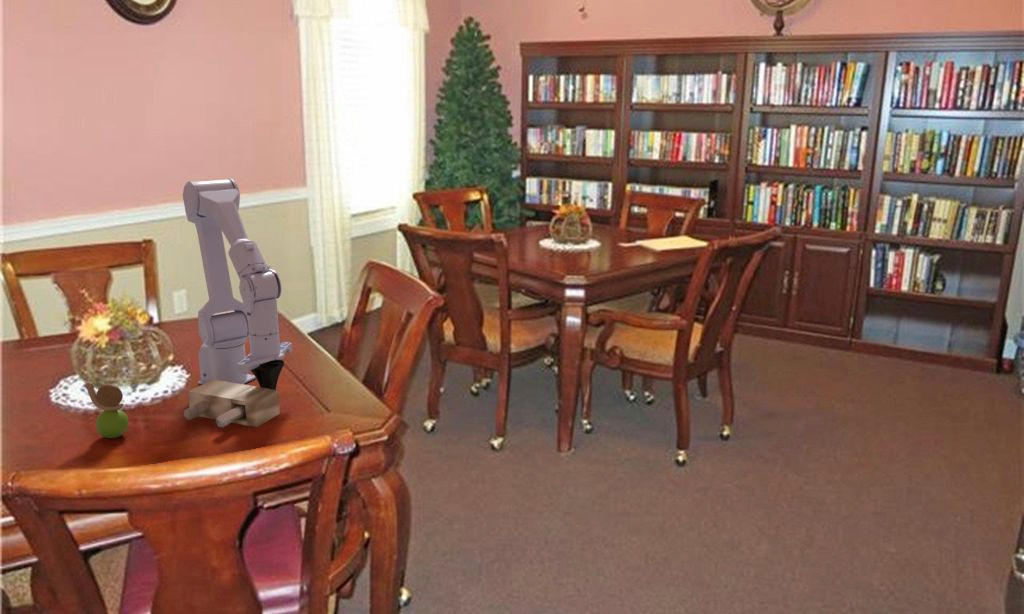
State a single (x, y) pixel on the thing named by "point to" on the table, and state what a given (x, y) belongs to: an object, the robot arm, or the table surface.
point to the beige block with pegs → (233, 402)
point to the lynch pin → (231, 416)
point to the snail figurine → (108, 410)
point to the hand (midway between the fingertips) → (269, 395)
